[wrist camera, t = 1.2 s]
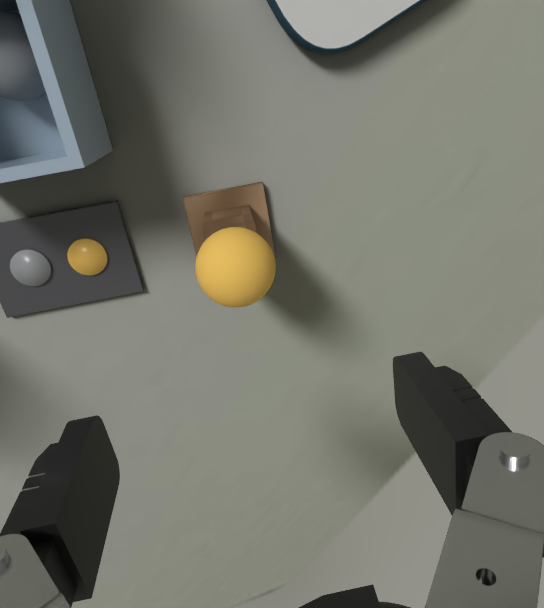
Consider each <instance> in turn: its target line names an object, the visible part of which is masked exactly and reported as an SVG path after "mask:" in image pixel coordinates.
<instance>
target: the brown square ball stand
mask: <svg viewBox="0 0 544 608" xmlns="http://www.w3.org/2000/svg"><path fill="white" fill-rule="evenodd" d="M183 201H184V205H185V209H186V213H187V218H188V222H189V226H190V230H191V234H192V238H193V242H194V247H195V251H196V255H197V254H198V252H199V249H200V247H201V246H202V244H203V243H204V242H205V240H206V239H207V238H208V237H210V236H211V235H212V234H213V233H215V232H217V231H219V230H221V229H225V228H229V227H241V228H246V229H249V230H252V231H254V232H255V233H257V234H259V235H260V236H261V237H262V238H263V239H264V240H265V241H266V242H267V243H268V244H269V246H270V248H271V250H272V252H273V254H274V258H275V259H276V257H275V251H274V245H273V240H272V234H271V228H270V222H269V216H268V210H267V204H266V199H265V193H264V187H263V183H262V182H258V183H253V184H248V185H243V186H237V187H232V188H227V189H221V190H216V191H211V192H205V193H200V194H195V195H189V196H184V197H183Z"/></svg>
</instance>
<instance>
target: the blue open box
mask: <svg viewBox="0 0 544 608" xmlns="http://www.w3.org/2000/svg"><path fill="white" fill-rule="evenodd" d="M0 11H9V12H15V13H18V14H20V15H21V18H22V21H23V24H24V27H25V30H26V33H27V36H28V39H29V42H30V45H31V48H32V51H33V54H34V57H35V60H36V63H37V66H38V69H39V72H40V75H41V78H42V81H43V85H44V88H45V91H46V94H44V95H43V96H41V97H39V98H37V99H34V100H30V101H15V100H10V99H7V98H4V97H2V96H0V183H4V182H9V181H15V180H20V179H26V178H31V177H36V176H42V175H47V174H53V173H58V172H63V171H69V170H74V169H80V168H85V167H86V166H88V165H90V164H92V163H93V162H95V161H97V160H98V159H100V158H102V157H103V156H105V155H107V154H108V153H110V152H112V151H113V148H112V145H111V141H110V138H109V134H108V131H107V128H106V124H105V121H104V117H103V114H102V110H101V107H100V103H99V100H98V97H97V93H96V90H95V86H94V83H93V79H92V76H91V72H90V69H89V66H88V62H87V59H86V55H85V52H84V48H83V45H82V41H81V38H80V34H79V31H78V28H77V24H76V21H75V17H74V14H73V10H72V7H71V3H70V0H0Z"/></svg>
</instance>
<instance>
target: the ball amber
mask: <svg viewBox="0 0 544 608" xmlns="http://www.w3.org/2000/svg"><path fill="white" fill-rule="evenodd" d="M195 268H196V276H197V280H198V282H199V284H200V286H201V288H202V290H203V291H204V292H205V294H206V295H207V296H208V297H210V298H211V299H212V300H214V301H215V302H217V303H219V304H221V305H224V306H228V307H244V306H248V305H250V304H253V303H255V302H256V301H258V300H259V299H261V298H262V297H263V296H264V295H265V294H266V293H267V291H268V290H269V289H270V287H271V285H272V283H273V280H274V277H275V271H276V265H275V258H274V254H273V252H272V250H271V248H270V246H269V244H268V243H267V242H266V241H265V240H264V239H263V238H262V237H261V236H260V235H259V234H257V233H255V232H254V231H252V230H249V229H246V228H241V227H229V228H225V229H221V230H219V231H217V232H215V233H213V234H212V235H211V236H210V237H208V238H207V239H206V240H205V242H204V243H203V244H202V246H201V247H200V249H199V252H198V254H197V258H196V264H195Z"/></svg>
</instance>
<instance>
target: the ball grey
mask: <svg viewBox="0 0 544 608" xmlns="http://www.w3.org/2000/svg"><path fill="white" fill-rule="evenodd" d="M44 94H46V91H45V88H44V85H43V81H42V78H41V75H40V72H39V69H38V66H37V63H36V60H35V57H34V54H33V51H32V48H31V45H30V42H29V39H28V36H27V33H26V30H25V27H24V24H23V21H22V18H21V15H20V14H18V13H15V12H9V11H0V96H2V97H4V98H7V99H10V100H15V101H30V100H34V99H37V98H39V97H41V96H43V95H44Z"/></svg>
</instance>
